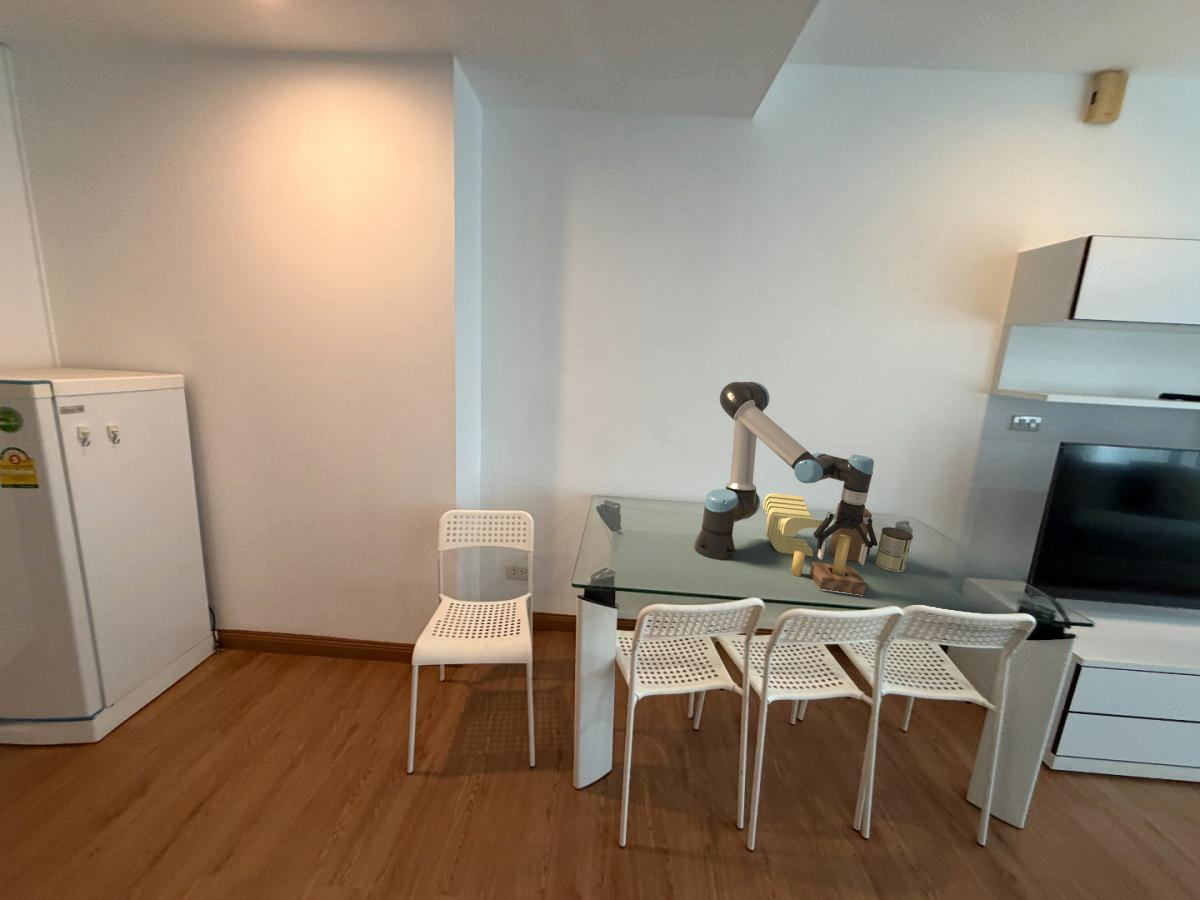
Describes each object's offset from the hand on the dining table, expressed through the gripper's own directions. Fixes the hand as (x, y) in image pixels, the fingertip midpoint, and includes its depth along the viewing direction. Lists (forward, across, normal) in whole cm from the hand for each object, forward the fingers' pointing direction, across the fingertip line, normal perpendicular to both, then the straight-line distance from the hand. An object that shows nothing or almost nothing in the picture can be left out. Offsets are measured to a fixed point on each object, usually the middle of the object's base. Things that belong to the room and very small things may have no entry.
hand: (840, 560), depth 170 cm
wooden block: (+9, +13, +29) cm, 33 cm away
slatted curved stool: (+9, -9, +30) cm, 33 cm away
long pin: (+9, 0, 0) cm, 9 cm away
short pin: (+9, -12, +5) cm, 16 cm away
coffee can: (+9, +28, +24) cm, 38 cm away
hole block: (+9, 0, 0) cm, 9 cm away
